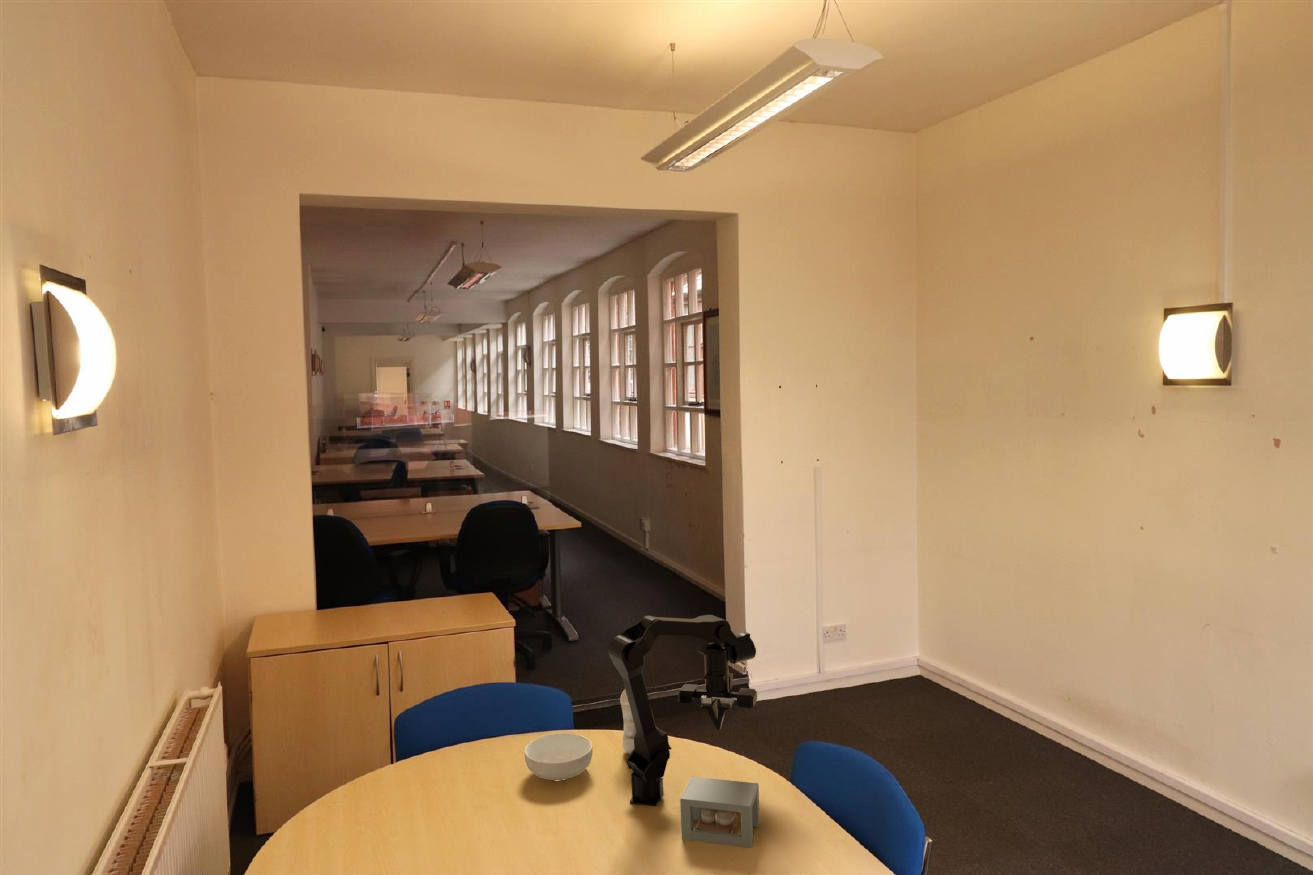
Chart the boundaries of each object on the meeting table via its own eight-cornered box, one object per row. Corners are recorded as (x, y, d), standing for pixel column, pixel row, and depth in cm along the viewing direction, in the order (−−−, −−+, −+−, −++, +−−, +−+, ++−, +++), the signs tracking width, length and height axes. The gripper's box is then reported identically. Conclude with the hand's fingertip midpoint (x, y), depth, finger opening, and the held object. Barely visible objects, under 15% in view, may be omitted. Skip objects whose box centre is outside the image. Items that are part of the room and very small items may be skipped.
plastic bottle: (645, 758, 223) (642, 683, 221) (619, 757, 224) (616, 682, 222) (650, 747, 229) (647, 674, 227) (625, 746, 231) (622, 673, 229)
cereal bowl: (540, 797, 205) (539, 768, 205) (516, 769, 220) (514, 742, 219) (605, 778, 214) (603, 750, 213) (577, 752, 228) (576, 726, 227)
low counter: (681, 838, 185) (680, 798, 184) (693, 814, 194) (691, 776, 194) (751, 847, 181) (750, 806, 180) (759, 822, 190) (758, 783, 189)
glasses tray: (720, 796, 202) (719, 775, 202) (749, 800, 200) (748, 779, 199) (695, 836, 186) (694, 814, 185) (726, 841, 183) (726, 819, 183)
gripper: (760, 658, 217) (761, 719, 218) (687, 654, 222) (690, 713, 223) (752, 674, 206) (753, 737, 207) (676, 669, 211) (678, 731, 213)
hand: (718, 729), depth 213 cm, fingers closed
